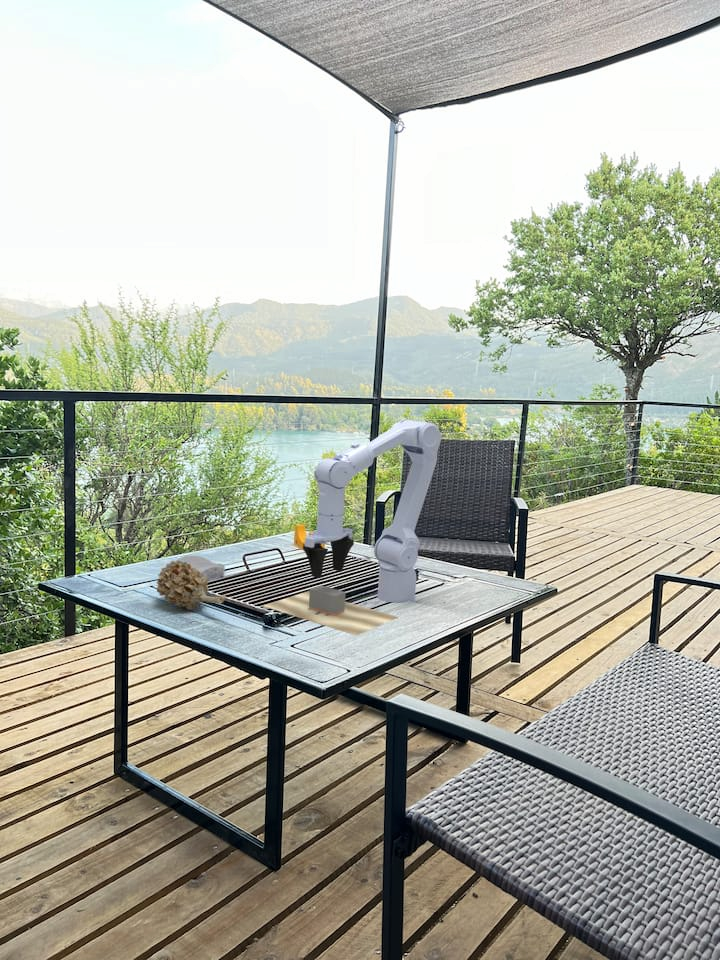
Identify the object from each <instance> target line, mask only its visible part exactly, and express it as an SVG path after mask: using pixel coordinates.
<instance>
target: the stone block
mask: <svg viewBox="0 0 720 960" xmlns="http://www.w3.org/2000/svg"><path fill="white" fill-rule="evenodd" d="M176 561H179V563H180V564H181V565H182V564H183V563H184V562H186V563H187V564H189V563H190V565H191V568H192V570H193V569H194V568H196V569H197V571H200V573H201V576H202V577H205V578H206V580H208V581H209V580H213V579H221V578H223V576H224V575H225V570H226V569H225V564H221V563H214V562H212V561H211V560H210V559H207V558H205V557H204V556H200V555H199V556H197V555H186V556H181V557H179V558H177V560H176Z"/></svg>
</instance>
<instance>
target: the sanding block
mask: <svg viewBox="0 0 720 960" xmlns="http://www.w3.org/2000/svg"><path fill="white" fill-rule="evenodd" d="M309 591H310V595H309V609H313V610H316V611H319V612H322V613H326V614H329V615H332V616H334V615H337V614H340V613H342V612H344V610H345V602H346V591H342V590H339V589H336V588H331V587H327V586H324V585H318V586H315V587H312V588H309Z"/></svg>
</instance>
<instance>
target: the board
mask: <svg viewBox="0 0 720 960" xmlns="http://www.w3.org/2000/svg"><path fill="white" fill-rule="evenodd" d="M309 595H310V590H307V591H304V592H301V593H299V594H298V593H297V594H295V595H292V596H289V597H286V598H283V599H280V600H277V601H273V602H271V603H267V604H264V605H262V609H263V608H265V610H268V609H271V610H274V611H277V612H281V613H283V614H286V615H290V616H294V617H296V618H299V619H303V620H306V621H310V622H312V623H314V624H315V623H316V624H318V625H320V626H321V625H322V626H325V627H327V628H331V629H333V630H334V629H335V630H337V631H341V632H344V633H346V634H350V635H353V636H359V635H361V634H363V633H366V632H368V631H370V630H372V629H374V628H377V627H380V626H381V625H384V624H386V623H387V624H388V623H389V622H391V621H393V620H396V619H398V618H399V616H396V615H392V614H389V613H385V612H382V611H379V610H375V609H372V608H368V607H365V606H362V605H359V604H354V603H351V602H347V601H345V610H344V612H342V613H340V614H337V615H334V616H332V615H329V614H326V613H322V612H319V611H316V610H313V609H309Z"/></svg>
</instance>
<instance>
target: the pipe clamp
mask: <svg viewBox="0 0 720 960" xmlns="http://www.w3.org/2000/svg"><path fill="white" fill-rule="evenodd" d="M293 534H294V537H293V538H294V539H293V546H295V547H297V548H298V549H300V550H302V551H304V549H303V544H305V537H308V536H310V535H312V534H313V531H310V532H308V536H307V533H306V525H305V524H294V533H293ZM321 546H322V548H326V543H324V544H321Z"/></svg>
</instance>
